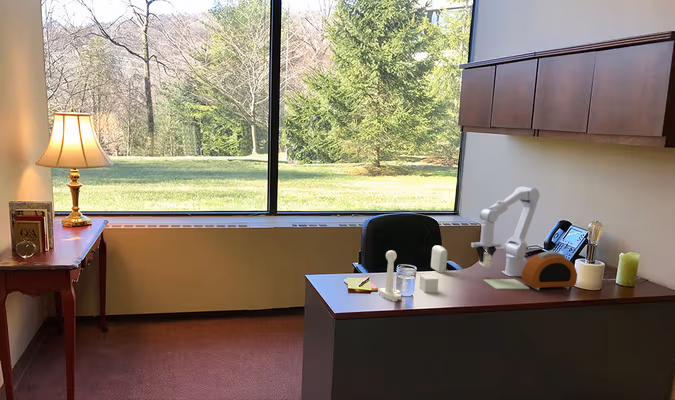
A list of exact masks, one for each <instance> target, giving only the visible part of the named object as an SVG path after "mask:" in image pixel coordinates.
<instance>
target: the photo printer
mask: <svg viewBox="0 0 675 400" xmlns="http://www.w3.org/2000/svg"><path fill="white" fill-rule="evenodd" d="M447 262H448V251H447V249H445V247H443V246H442V245H434V246H433V247H432V249H431V259H430V268H431V269H433V270H435V272H437V273H440V274H444V273H447Z"/></svg>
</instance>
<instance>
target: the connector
mask: <svg viewBox="0 0 675 400" xmlns="http://www.w3.org/2000/svg"><path fill="white" fill-rule="evenodd" d="M478 264H479V265H481V266H483V267H484V268H491V265H494V261H492V258H491V255H490V254H488V253H487V252H486V251H485V252H484V256H483V262H480V261H479V260H478Z"/></svg>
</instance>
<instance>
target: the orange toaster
mask: <svg viewBox="0 0 675 400" xmlns="http://www.w3.org/2000/svg"><path fill="white" fill-rule="evenodd" d="M521 280H522V281H523V282H524V283H525V285H527V286H528V287H531V288H533V289H535V290H536V291H539V290H540V288H541V289H542V288H564V287H565V288H564V289H566V288H567V289H566V290H569V289H570V288H571V287H574V286H575V285H577V281H578V272H577V269H576V267H575V264H574V263H573V262H572V261H571V260H570V259H568V258H566V255H565V254H562V253H561V252H557V251H554V250H552V251H551V250H549V251H548V250H547V251H544V252H543V251H542V252H540V253H538V254H535V255H534V256H532V257H531V258H529V260H527V263H526V265H525V267H524V269H523V271H522V276H521Z"/></svg>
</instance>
